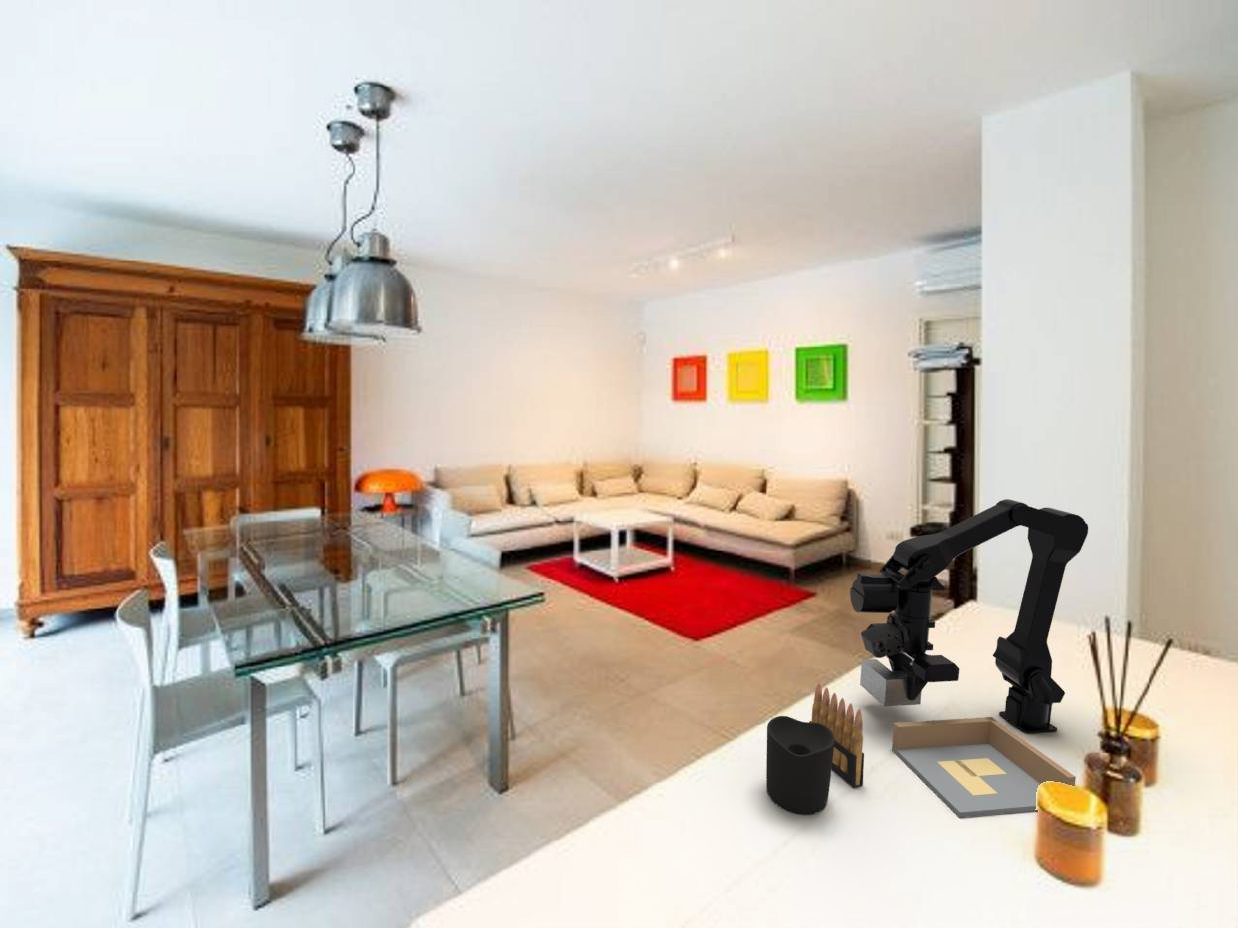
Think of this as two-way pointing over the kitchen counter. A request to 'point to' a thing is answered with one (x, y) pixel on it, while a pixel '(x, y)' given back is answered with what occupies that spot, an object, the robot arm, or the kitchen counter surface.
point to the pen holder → (799, 764)
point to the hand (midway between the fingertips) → (905, 695)
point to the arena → (976, 764)
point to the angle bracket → (886, 684)
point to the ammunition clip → (842, 735)
